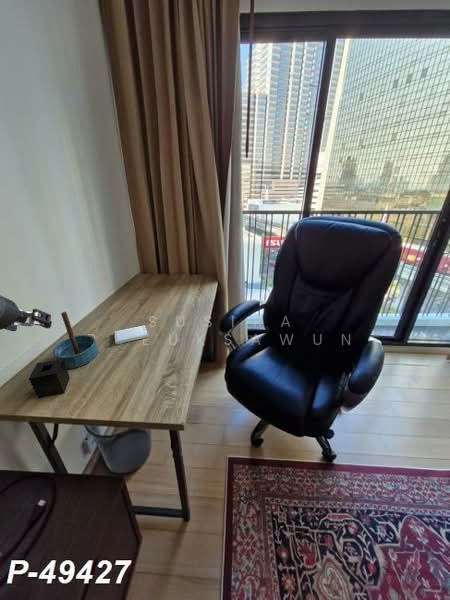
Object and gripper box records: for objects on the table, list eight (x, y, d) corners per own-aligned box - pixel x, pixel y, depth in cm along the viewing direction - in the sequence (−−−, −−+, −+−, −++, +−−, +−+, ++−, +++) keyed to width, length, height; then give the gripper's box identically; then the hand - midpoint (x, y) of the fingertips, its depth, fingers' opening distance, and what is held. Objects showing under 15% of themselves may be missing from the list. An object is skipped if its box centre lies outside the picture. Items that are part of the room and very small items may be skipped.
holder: (38, 398, 75) (28, 378, 71) (45, 382, 81) (37, 362, 77) (64, 393, 76) (56, 373, 73) (70, 377, 83) (62, 358, 79)
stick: (75, 357, 90) (60, 314, 82) (76, 355, 92) (61, 312, 84) (80, 356, 91) (65, 313, 83) (81, 354, 92) (67, 311, 84)
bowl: (52, 373, 84) (47, 360, 82) (63, 350, 96) (59, 338, 93) (95, 365, 88) (91, 353, 85) (100, 344, 99) (97, 332, 97)
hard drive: (114, 341, 98) (147, 334, 102) (114, 331, 104) (144, 324, 109) (115, 345, 98) (148, 337, 103) (115, 334, 105) (145, 327, 109)
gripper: (24, 290, 55) (61, 310, 71) (-49, 294, 54) (6, 315, 69) (19, 323, 53) (59, 337, 68) (-57, 329, 51) (1, 342, 67)
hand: (32, 326), depth 69 cm, fingers open, 8 cm apart
